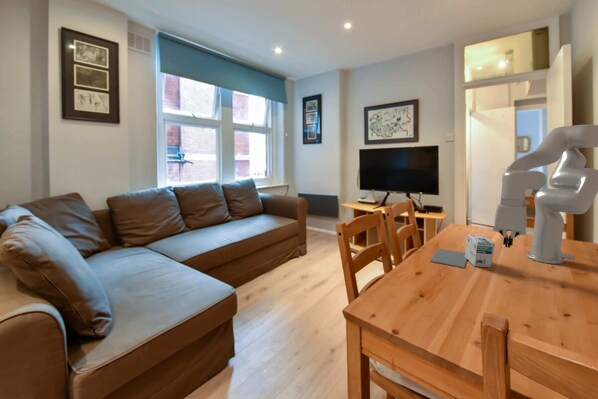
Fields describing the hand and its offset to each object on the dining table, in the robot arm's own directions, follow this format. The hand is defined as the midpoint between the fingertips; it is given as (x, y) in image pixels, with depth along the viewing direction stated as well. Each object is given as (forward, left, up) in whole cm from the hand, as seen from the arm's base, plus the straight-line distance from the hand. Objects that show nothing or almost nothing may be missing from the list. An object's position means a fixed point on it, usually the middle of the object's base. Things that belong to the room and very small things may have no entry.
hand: (507, 246), depth 112 cm
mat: (+20, 0, -9) cm, 22 cm away
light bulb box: (+10, 0, -9) cm, 13 cm away
